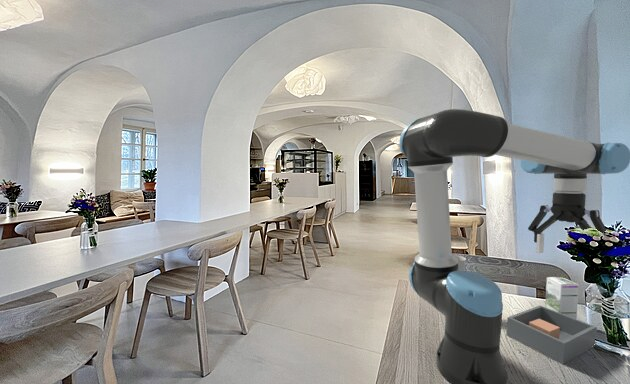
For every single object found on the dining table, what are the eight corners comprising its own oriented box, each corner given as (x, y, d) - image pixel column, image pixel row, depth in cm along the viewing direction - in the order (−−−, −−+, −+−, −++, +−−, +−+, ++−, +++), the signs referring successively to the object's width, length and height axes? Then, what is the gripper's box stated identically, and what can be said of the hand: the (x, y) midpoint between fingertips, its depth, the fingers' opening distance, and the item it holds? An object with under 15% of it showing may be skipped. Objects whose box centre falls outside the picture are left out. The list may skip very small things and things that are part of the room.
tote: (562, 364, 69) (564, 343, 68) (506, 335, 81) (507, 317, 81) (595, 345, 76) (596, 327, 76) (538, 321, 88) (540, 305, 88)
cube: (548, 348, 74) (549, 331, 74) (528, 338, 78) (529, 322, 78) (558, 344, 76) (559, 327, 75) (538, 334, 80) (539, 318, 80)
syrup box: (577, 328, 85) (580, 283, 84) (558, 328, 85) (561, 283, 84) (561, 318, 90) (564, 276, 89) (543, 318, 91) (546, 276, 90)
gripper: (633, 194, 74) (627, 269, 76) (530, 189, 97) (527, 247, 98) (620, 195, 71) (614, 273, 73) (518, 190, 94) (515, 249, 95)
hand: (564, 258), depth 86 cm, fingers open, 13 cm apart
